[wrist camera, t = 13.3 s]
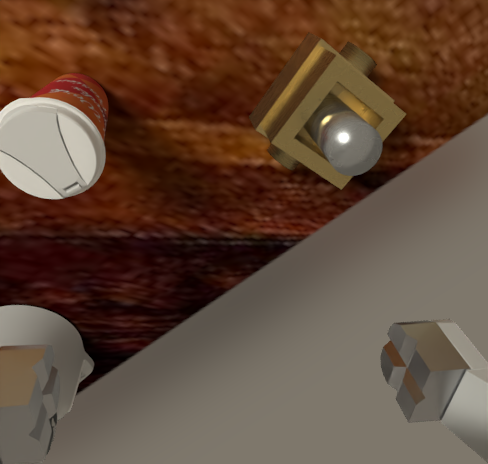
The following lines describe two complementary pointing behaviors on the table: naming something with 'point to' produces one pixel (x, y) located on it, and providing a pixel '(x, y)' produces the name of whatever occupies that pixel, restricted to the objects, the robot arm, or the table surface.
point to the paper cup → (55, 138)
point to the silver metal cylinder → (344, 137)
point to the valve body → (312, 94)
